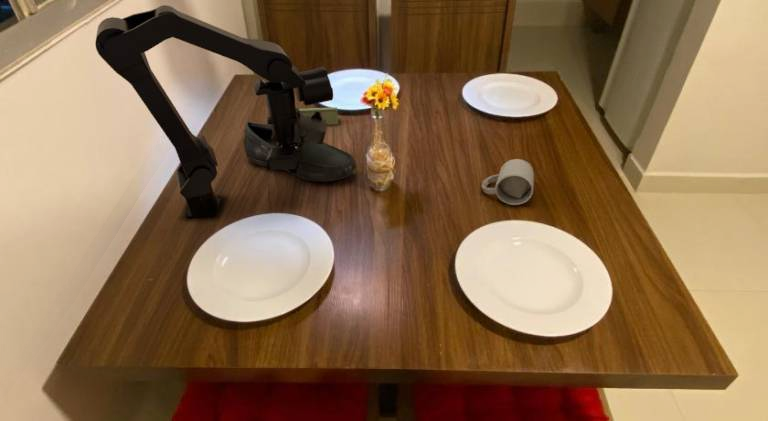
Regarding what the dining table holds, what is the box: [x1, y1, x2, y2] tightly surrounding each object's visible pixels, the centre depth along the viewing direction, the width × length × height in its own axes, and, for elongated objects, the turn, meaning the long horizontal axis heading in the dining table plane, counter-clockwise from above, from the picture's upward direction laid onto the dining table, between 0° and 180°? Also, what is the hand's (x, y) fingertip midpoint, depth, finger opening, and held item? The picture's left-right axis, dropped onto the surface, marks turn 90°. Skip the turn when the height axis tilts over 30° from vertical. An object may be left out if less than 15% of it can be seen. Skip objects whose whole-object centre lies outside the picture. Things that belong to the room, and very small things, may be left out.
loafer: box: [242, 121, 357, 183], centre depth 103 cm, size 10×29×10 cm, turn 72°
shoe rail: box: [299, 107, 339, 126], centre depth 121 cm, size 2×18×5 cm, turn 93°
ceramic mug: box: [481, 158, 535, 206], centre depth 95 cm, size 11×8×8 cm
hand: (294, 172), depth 99 cm, fingers closed
